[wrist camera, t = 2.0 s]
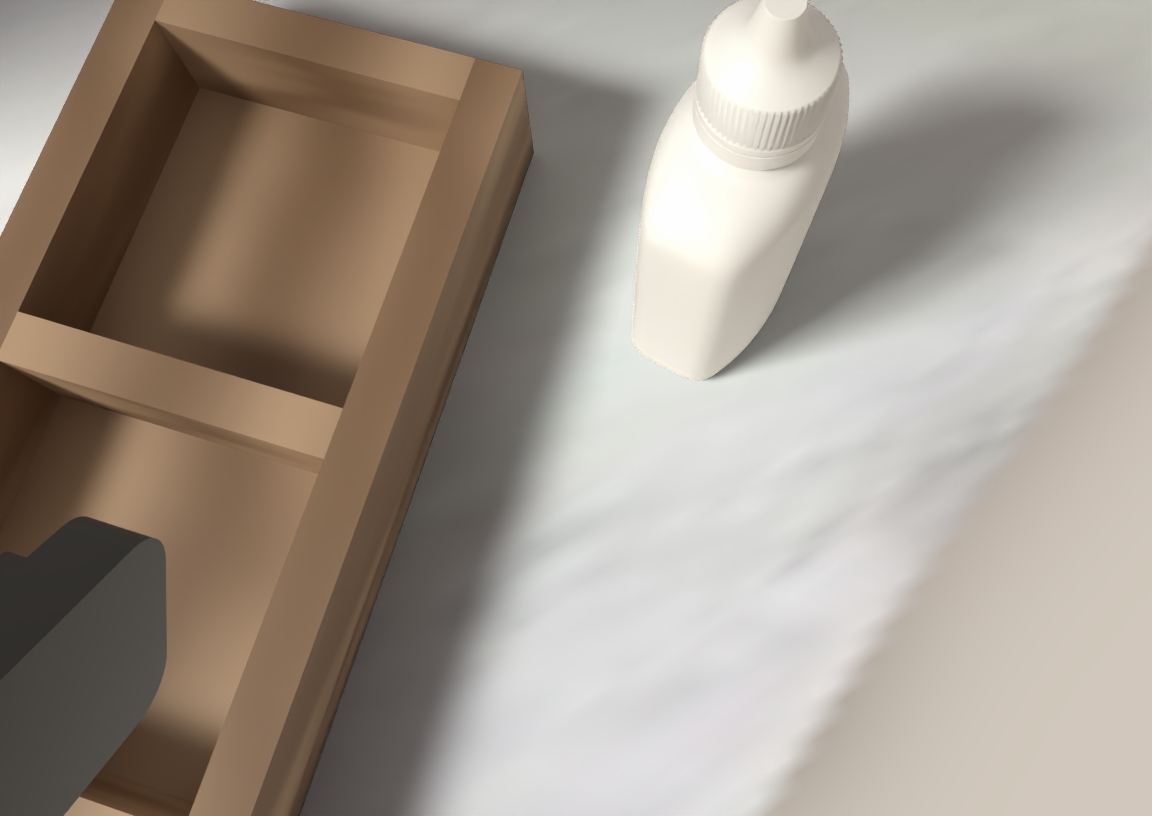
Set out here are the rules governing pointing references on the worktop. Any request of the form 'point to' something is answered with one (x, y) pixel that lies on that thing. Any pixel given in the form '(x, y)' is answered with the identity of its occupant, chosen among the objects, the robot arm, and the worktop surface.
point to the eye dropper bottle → (737, 183)
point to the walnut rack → (246, 353)
